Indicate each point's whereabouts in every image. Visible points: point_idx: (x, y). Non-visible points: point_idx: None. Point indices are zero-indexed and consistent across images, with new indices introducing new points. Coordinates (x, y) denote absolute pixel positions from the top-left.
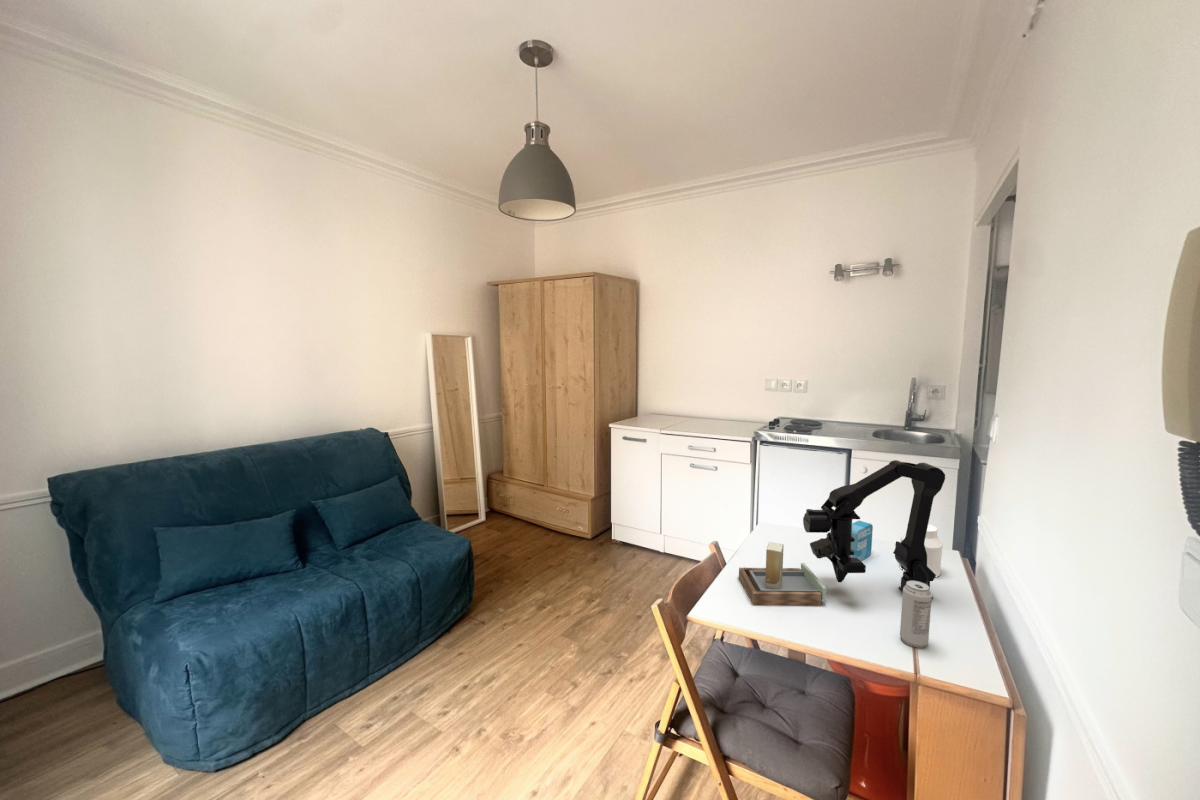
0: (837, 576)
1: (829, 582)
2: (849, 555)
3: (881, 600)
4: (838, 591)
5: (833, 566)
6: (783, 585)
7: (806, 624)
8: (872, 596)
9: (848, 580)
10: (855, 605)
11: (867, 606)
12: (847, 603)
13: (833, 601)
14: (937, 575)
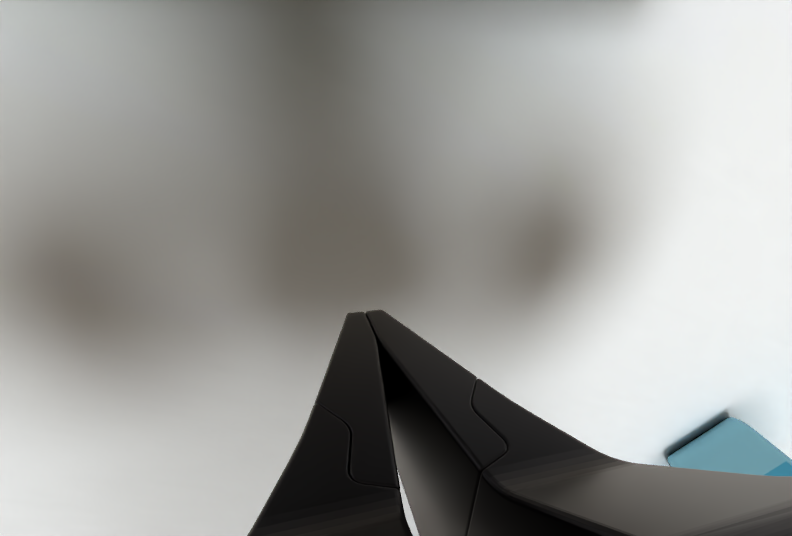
0: (349, 354)
1: (516, 246)
2: (734, 470)
3: (230, 495)
4: (353, 264)
5: (504, 418)
6: None
7: None
8: (285, 461)
9: (516, 382)
10: (70, 324)
11: (87, 407)
12: (93, 265)
13: (96, 124)
14: None
